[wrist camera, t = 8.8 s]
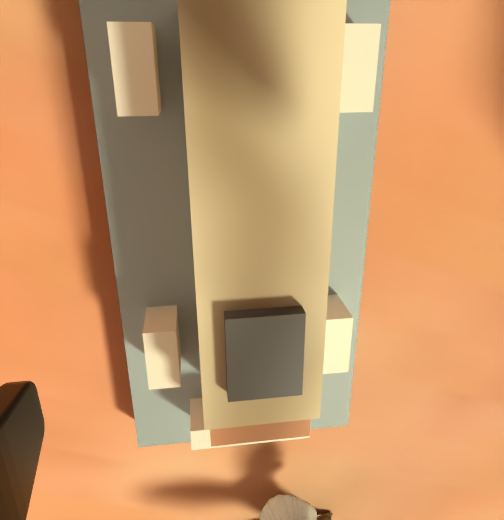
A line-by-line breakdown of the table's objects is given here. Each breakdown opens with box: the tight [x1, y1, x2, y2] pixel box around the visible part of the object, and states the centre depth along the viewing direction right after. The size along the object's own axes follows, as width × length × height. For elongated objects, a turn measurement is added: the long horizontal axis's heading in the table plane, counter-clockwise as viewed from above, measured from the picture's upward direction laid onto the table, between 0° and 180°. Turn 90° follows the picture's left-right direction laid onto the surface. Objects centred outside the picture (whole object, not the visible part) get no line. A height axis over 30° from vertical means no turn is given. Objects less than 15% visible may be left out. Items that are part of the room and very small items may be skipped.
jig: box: [79, 0, 390, 450], centre depth 17 cm, size 10×22×4 cm, turn 0°
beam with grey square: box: [177, 0, 347, 447], centre depth 15 cm, size 4×14×5 cm, turn 0°
